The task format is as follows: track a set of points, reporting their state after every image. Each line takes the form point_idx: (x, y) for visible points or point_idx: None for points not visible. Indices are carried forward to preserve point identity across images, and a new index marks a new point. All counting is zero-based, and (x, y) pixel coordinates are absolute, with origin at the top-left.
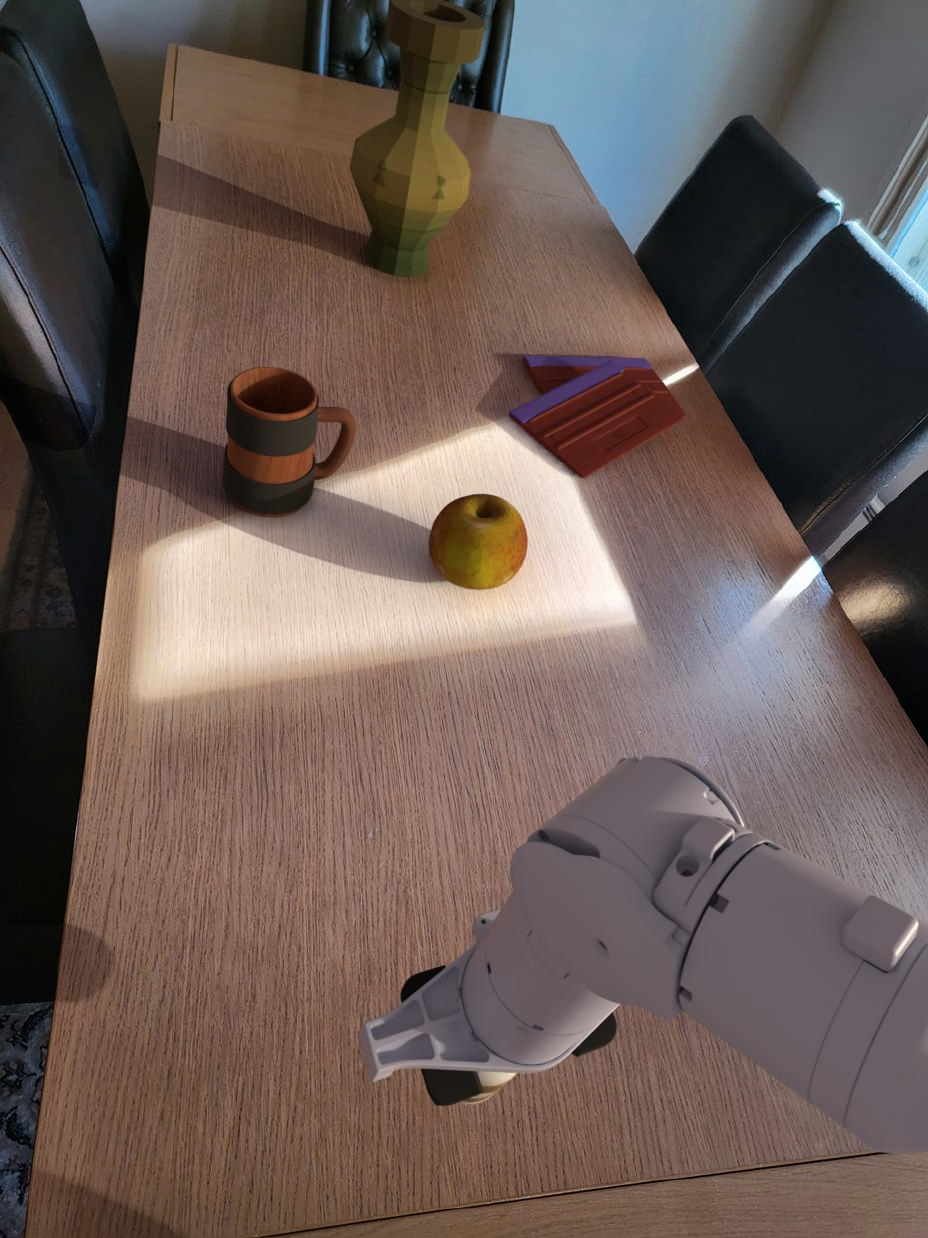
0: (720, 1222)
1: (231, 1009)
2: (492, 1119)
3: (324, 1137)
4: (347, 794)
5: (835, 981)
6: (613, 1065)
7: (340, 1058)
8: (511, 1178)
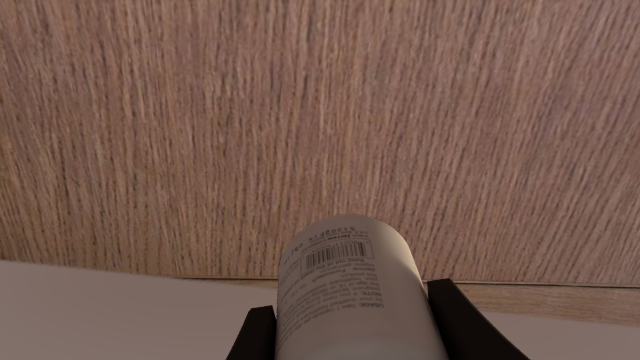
0: (598, 319)
1: (13, 42)
2: (387, 215)
3: (175, 208)
4: None
5: None
6: (570, 180)
7: (192, 128)
8: None
